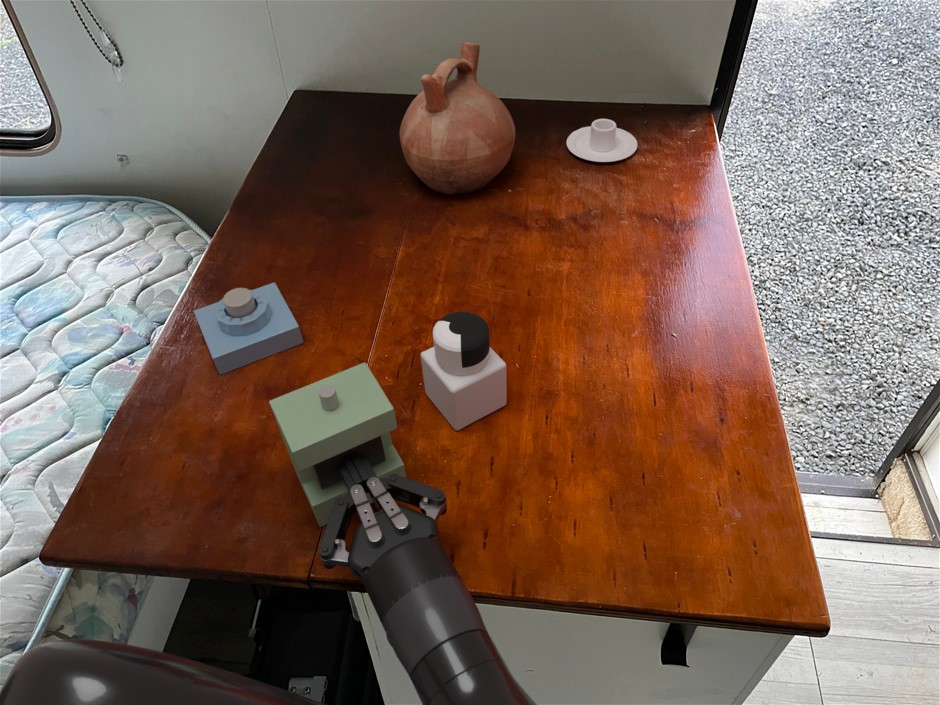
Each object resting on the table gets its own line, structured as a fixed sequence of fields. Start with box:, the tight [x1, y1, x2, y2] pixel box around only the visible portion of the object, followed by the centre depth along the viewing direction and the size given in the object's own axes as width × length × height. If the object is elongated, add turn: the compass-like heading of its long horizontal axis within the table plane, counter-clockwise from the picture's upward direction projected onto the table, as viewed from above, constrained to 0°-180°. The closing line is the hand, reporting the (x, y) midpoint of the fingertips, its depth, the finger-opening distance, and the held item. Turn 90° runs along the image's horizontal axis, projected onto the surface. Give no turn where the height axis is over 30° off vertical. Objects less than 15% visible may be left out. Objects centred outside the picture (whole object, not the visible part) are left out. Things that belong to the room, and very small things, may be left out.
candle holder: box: [566, 118, 638, 163], centre depth 120 cm, size 12×12×4 cm
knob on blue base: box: [193, 281, 305, 376], centre depth 91 cm, size 11×10×5 cm
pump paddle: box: [313, 436, 386, 490], centre depth 70 cm, size 7×1×5 cm, turn 119°
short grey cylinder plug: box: [222, 287, 256, 318], centre depth 89 cm, size 4×4×2 cm
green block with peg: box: [268, 362, 408, 528], centre depth 71 cm, size 10×7×15 cm
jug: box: [399, 41, 516, 195], centre depth 110 cm, size 18×18×20 cm
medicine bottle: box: [420, 311, 508, 432], centre depth 79 cm, size 7×7×12 cm
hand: (349, 460), depth 70 cm, fingers closed
